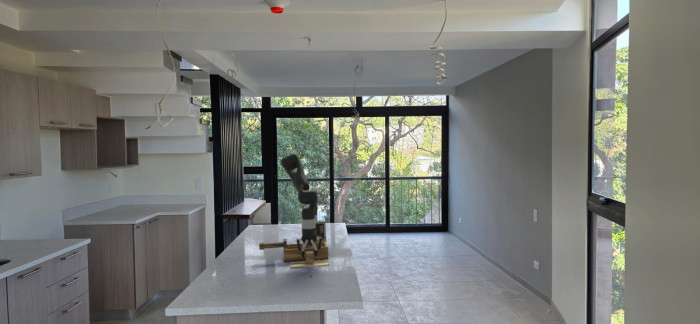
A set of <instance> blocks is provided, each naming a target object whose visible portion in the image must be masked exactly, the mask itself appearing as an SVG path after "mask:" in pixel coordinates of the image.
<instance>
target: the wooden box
mask: <svg viewBox="0 0 700 324" xmlns="http://www.w3.org/2000/svg"><path fill="white" fill-rule="evenodd" d="M287 241H288V240H287V238H284V239H283V241H282V242H283V247H282V248H283V263H290V262H294V261H296V262H301V261H306V253H305V252H309V251H313V259H314V260H320V259H322V260H326V259H328V260H329V246H328V244H327V241H326V242H321V248H320V249H318V250H317V256H316V257H315V252H314V250H315V248H314V247H313V245H308V246H306V247H305V249H304V258H303V257H302V252H301V251H300V250H298V246H297V243H288V242H287ZM318 243H319V242H315V245H316V247H318ZM299 244H300V248H302V246H303V244H304V243H303V242H300V243H299Z"/></svg>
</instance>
